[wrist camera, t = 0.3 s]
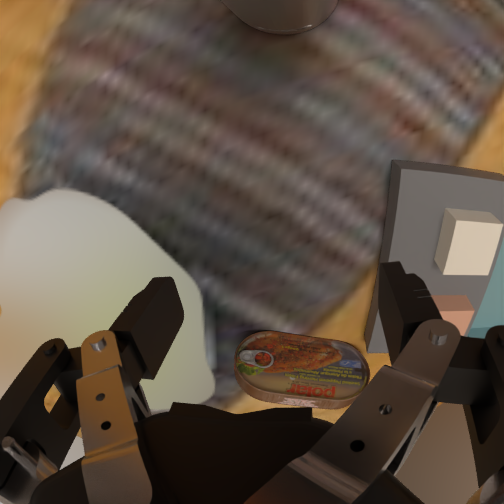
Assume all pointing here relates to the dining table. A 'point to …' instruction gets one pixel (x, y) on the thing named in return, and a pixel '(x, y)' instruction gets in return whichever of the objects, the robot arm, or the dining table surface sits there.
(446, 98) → the dining table surface
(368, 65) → the dining table surface
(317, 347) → the tin
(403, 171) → the grey stone slab
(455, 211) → the cream tile
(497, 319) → the tray
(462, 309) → the terracotta tile
